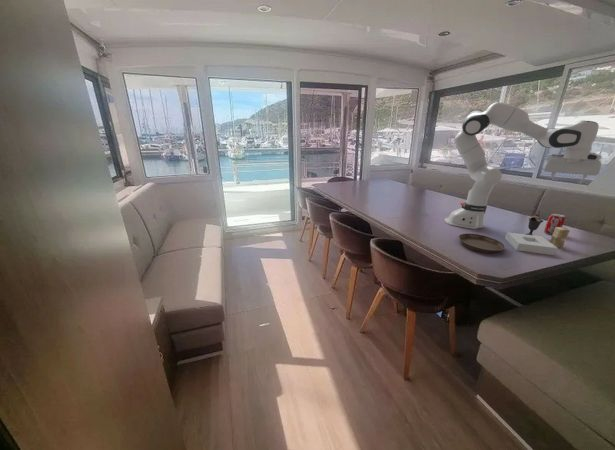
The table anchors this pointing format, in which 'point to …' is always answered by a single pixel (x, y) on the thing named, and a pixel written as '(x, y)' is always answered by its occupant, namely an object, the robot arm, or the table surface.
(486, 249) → the plant saucer
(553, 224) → the soda can
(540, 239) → the socket block
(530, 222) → the sundae
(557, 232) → the birch peg
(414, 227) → the table surface
